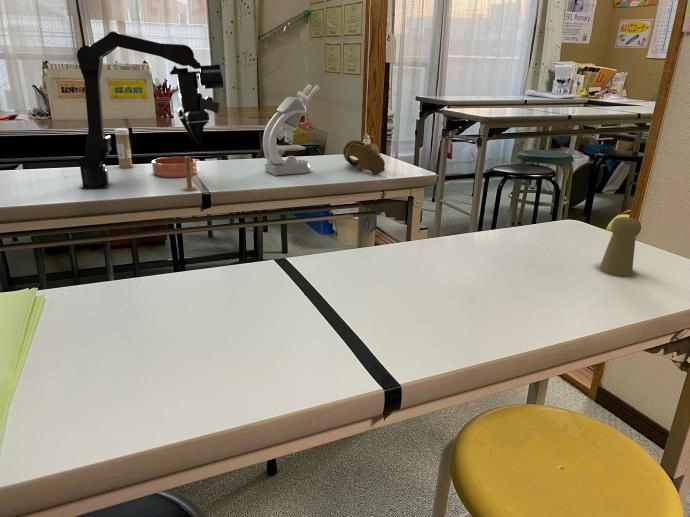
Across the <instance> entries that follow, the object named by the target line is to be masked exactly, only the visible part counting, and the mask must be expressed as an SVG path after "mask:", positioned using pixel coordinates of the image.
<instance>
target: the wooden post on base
mask: <svg viewBox="0 0 690 517" xmlns="http://www.w3.org/2000/svg"><path fill="white" fill-rule="evenodd" d="M184 157H185V165H186V186H184V187H183V189H184V191H186V192H192V191H196V187H195V186H193V182H192V175H191V167H190V158H191V156H184Z"/></svg>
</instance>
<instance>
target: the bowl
mask: <svg viewBox="0 0 690 517" xmlns="http://www.w3.org/2000/svg"><path fill="white" fill-rule="evenodd" d="M185 157H186V156H170V157H169V156H168V157H158V158H155V159H153V160H152V161H151V166H152V173H153V174H154V175H156V176H158V177H161V178H185V177H186V165H185ZM190 167H191V176H193V175H195V174H196V173H197V172H198V168H197V159H196V158H192V157H190ZM186 178H187V177H186Z"/></svg>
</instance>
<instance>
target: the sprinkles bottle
mask: <svg viewBox="0 0 690 517" xmlns="http://www.w3.org/2000/svg"><path fill="white" fill-rule="evenodd" d="M129 134H130V132H129V128H125V127H119V128H114V136H115V143H116V152H117V159H118V167H119V168H121V169H129V168H132V167H133V165H134V164H133V160H132V151H131V144H130V137H129Z"/></svg>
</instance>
